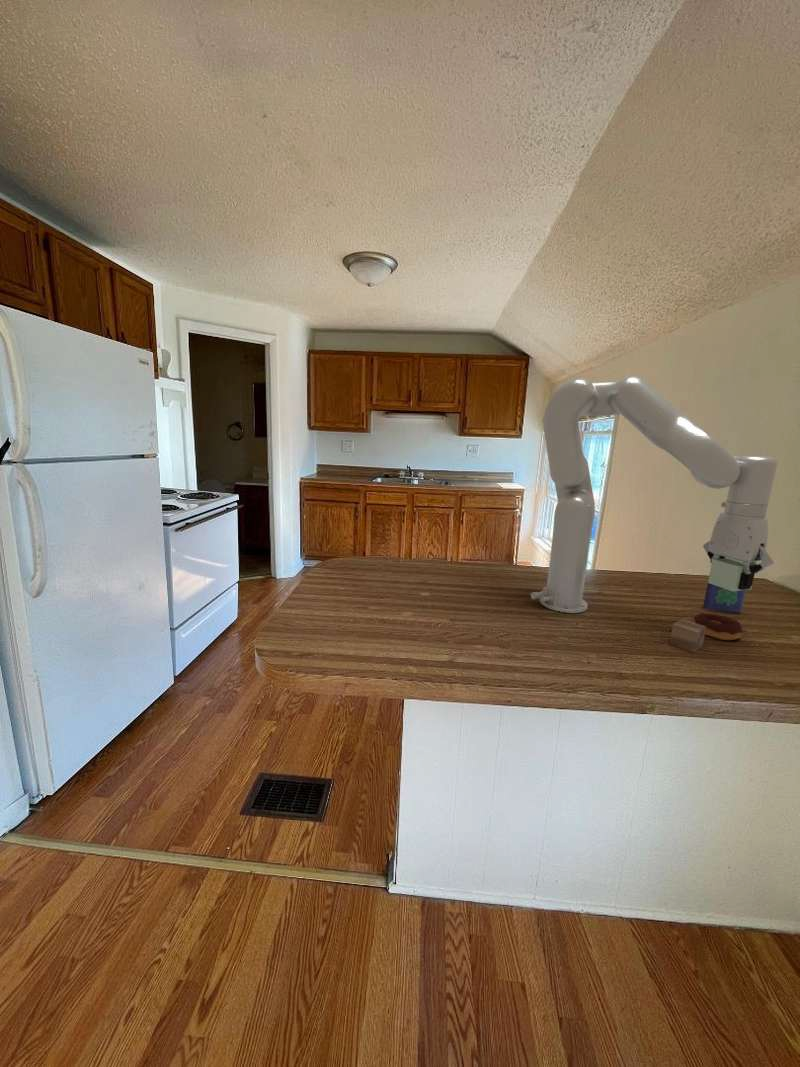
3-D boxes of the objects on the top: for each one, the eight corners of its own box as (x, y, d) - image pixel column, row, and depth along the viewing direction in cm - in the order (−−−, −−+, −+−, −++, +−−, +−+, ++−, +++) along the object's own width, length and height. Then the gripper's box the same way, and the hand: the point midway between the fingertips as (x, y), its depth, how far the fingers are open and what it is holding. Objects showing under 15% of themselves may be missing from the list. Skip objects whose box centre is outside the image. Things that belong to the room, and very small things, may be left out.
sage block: (732, 591, 99) (738, 566, 98) (707, 582, 105) (712, 559, 103) (751, 589, 101) (756, 564, 99) (725, 580, 106) (730, 557, 105)
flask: (738, 610, 119) (747, 574, 117) (743, 615, 117) (752, 578, 114) (701, 606, 122) (708, 570, 119) (705, 610, 119) (712, 574, 117)
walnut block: (693, 652, 95) (698, 632, 94) (669, 643, 99) (673, 624, 98) (702, 646, 98) (706, 626, 97) (678, 638, 102) (681, 618, 101)
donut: (681, 627, 108) (684, 613, 107) (706, 621, 112) (709, 607, 111) (724, 645, 99) (727, 630, 98) (749, 639, 103) (753, 623, 102)
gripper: (697, 504, 105) (684, 574, 109) (775, 518, 89) (756, 598, 93) (720, 503, 108) (706, 571, 112) (799, 516, 92) (780, 595, 96)
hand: (729, 583), depth 103 cm, fingers closed on sage block, 6 cm apart
